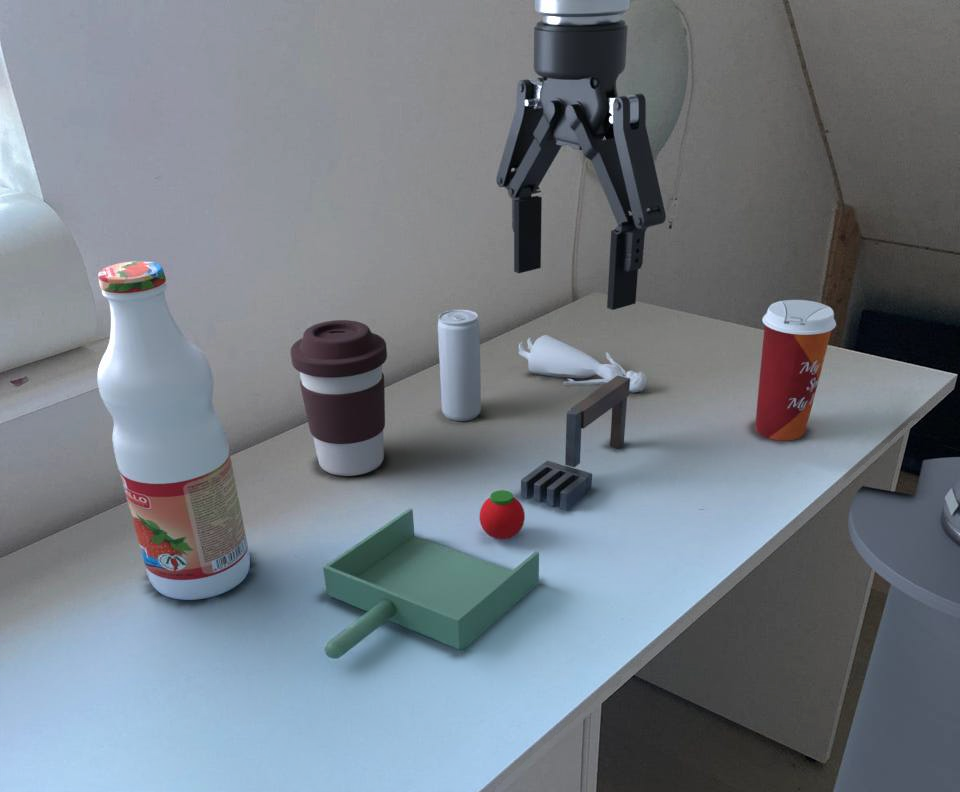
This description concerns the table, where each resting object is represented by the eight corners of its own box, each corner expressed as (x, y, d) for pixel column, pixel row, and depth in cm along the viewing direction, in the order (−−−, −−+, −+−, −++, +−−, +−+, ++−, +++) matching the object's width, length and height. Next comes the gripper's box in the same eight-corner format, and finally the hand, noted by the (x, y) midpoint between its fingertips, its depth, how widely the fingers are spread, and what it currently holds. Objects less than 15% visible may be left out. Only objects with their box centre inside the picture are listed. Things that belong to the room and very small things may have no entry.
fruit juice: (261, 588, 90) (202, 277, 73) (157, 612, 87) (70, 296, 70) (241, 539, 97) (182, 245, 80) (144, 561, 94) (61, 261, 77)
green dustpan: (411, 537, 96) (409, 507, 94) (538, 582, 89) (539, 552, 87) (265, 641, 83) (259, 609, 81) (401, 704, 76) (398, 671, 74)
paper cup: (807, 449, 109) (832, 325, 101) (739, 438, 112) (757, 316, 103) (819, 421, 115) (843, 302, 106) (754, 411, 118) (772, 294, 109)
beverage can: (472, 403, 122) (469, 306, 114) (487, 418, 118) (485, 319, 111) (436, 410, 120) (431, 312, 113) (450, 425, 117) (446, 326, 109)
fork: (597, 438, 113) (601, 371, 108) (641, 449, 110) (646, 382, 105) (520, 496, 102) (520, 425, 98) (566, 511, 100) (569, 439, 95)
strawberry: (533, 532, 97) (533, 492, 94) (508, 552, 94) (508, 511, 91) (496, 520, 99) (495, 480, 96) (471, 539, 96) (469, 499, 93)
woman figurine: (547, 318, 132) (668, 352, 124) (545, 350, 135) (663, 385, 127) (500, 345, 124) (626, 383, 117) (498, 378, 127) (621, 417, 119)
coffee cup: (363, 491, 104) (348, 354, 95) (289, 472, 108) (267, 338, 99) (412, 453, 111) (403, 322, 102) (341, 436, 115) (326, 309, 106)
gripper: (454, 12, 85) (463, 263, 98) (655, 34, 68) (633, 332, 81) (523, 5, 88) (522, 249, 101) (730, 25, 72) (697, 313, 85)
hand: (572, 287), depth 91 cm, fingers open, 13 cm apart
